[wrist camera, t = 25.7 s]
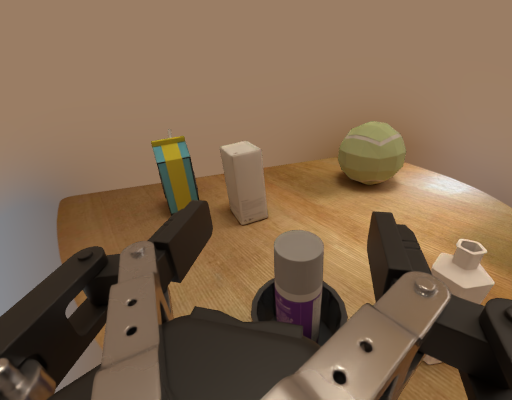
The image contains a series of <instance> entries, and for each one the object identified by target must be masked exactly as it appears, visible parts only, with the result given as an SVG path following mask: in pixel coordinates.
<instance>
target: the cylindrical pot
mask: <svg viewBox="0 0 512 400" xmlns="http://www.w3.org/2000/svg"><path fill="white" fill-rule="evenodd" d="M251 319H252V322H258V321H277V319H276V301H275V278H274V279H272V280H269V281H268V282H267V283H266V284H264V285H263V286H262V287H261V288H260V289H259V290H258V292H257V294H256V296H255V297H254V299H253V301H252V310H251ZM347 319H348V316H347V312H346V308H345V305H344V302H343V300H342V299H341V298H340V296H339V295H338V293H337V292H336V291H335V290H334V289H333V288H332V287H330V286H329V285H328V284H327V283H325V282H324V281H322V298H321V311H320V325H319V338H318V345H320V346H321V347H322V346H323V345H324V344H325V343H326V342H327V341H328V340H329V339H330V338H331V337H332V336H333V335H334V334H335V333H336V332H337V331H338V330H339V329H340V328H341V327H342V326H343V325H344V324H345V323H346V322H347Z"/></svg>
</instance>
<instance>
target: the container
mask: <svg viewBox="0 0 512 400" xmlns="http://www.w3.org/2000/svg"><path fill="white" fill-rule="evenodd" d="M323 255H324V245H323V242H322V240H321V239H320V238H319V237H318V236H317V235H315V234H313V233H311V232H308V231H303V230H292V231H287V232H285V233H282V234H281V235H279V236H278V237H277V238H276V240H275V242H274V273H275V301H276V319H277V321H279V322H285V323H291V324H296V325H302V326H303V336H305V337H307V338H309V339H311V340H312V341H314V342H316V343H317V344H318V338H319V325H320V311H321V298H322V281H323Z"/></svg>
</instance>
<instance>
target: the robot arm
mask: <svg viewBox="0 0 512 400" xmlns="http://www.w3.org/2000/svg"><path fill="white" fill-rule="evenodd" d="M212 230H213V226H212V220H211V215H210V210H209V205H208V203H207V201H199V200H192V201H190V202H189V203H188V205H187V206H186V207H185V208H184V209H181V210H179V211H177V212H176V213H174V214H173V215H172V216H171V217H170V218H169V219H168V221H166V222H165V223H164V224H163V226H161V227H160V228H159V229H158V230H157V231H156V232H155V233H154V235H153V236H152V237H151V238H150V239H149V240H148V241H140V242H136V243H133V244H131V245H129V246H128V247H126V248H125V249H124V250H123V251H122V252H121V254H115V255H107V256H106V254H105V252H104V250H103V248H102V247H98V246H94V247H89V248H86V249H83V250H81V251H79V252H77V253H76V254H74V255H73V256H72V257H70V258H69V259H68V260H67V261H66V262H65V263H63V264H62V265H61V266H60V267H59V268H57V269H56V270H55V271H54V272H53V273H52V274H50V275H49V276H48V277H47V278H46V279H45V280H43V281H42V282H41V283H40V284H39V285H37V286H36V287H35V288H34V289H33V290H32V291H30V292H29V293H28V294H27V295H26V296H25V297H23V298H22V299H21V300H20V301H19V302H17V303H16V304H15V305H14V306H13V307H12V308H10V309H9V310H8V311H7V312H6V313H4V314H3V315H2V316H1V317H0V400H397V399H398V397H399V395H400V394H401V392H402V390H403V389H404V387H405V386H406V384H407V383H408V381H409V380H410V378H411V377H412V375H413V374H414V372H415V371H416V369H417V368H418V366H419V365H420V363H421V362H422V360H423V359H424V357H425V356H426V354H427V355H429V356H431V357H433V358H435V359H437V360H440V361H442V362H444V363H446V364H448V365H450V366H453V367H455V368H457V369H458V370H459V373H460V376H461V379H462V382H463V385H464V388H465V391H466V394H467V397H468V400H512V300H509V299H503V298H495V299H491V300H489V301H488V302H487V303H486V305H485V306H482V305H480V304H477V303H474V302H471V301H468V300H465V299H462V298H459V297H457V296H455V295H453V294H451V292H450V290H449V288H448V287H447V286H446V284H445V283H443V282H442V281H441V280H440V279H438V278H436V277H435V276H433V275H432V273H431V271H430V268H429V266H428V264H427V262H426V259H425V257H424V255H423V253H422V250H420V249H421V248H420V246H419V244H418V243H417V239H416V237H415V235H414V233H413V232H412V231H411V230H410V229H409V228H408V227H407V226H406V225H399V224H396V222H395V219H394V217H393V214H392V213H390V212H373V213H372V216H371V222H370V228H369V234H368V241H367V253H368V259H369V265H370V271H371V277H372V282H373V288H374V294H375V300H376V303H375V304H374V305H373V306H372V305H371V304H369V303H366V304H364V305H363V306H362V307H361V308H360V309H359V310H358V311H357V312H356V313H355V314H354V315H353V316H352V317H351V318H350V319H349V320H348V321H347V322H346V323H345V324H344V325H343V326H342V327H341V328H340V329H339V330H338V331H337V332H336V333H335V334H334V335H333V336H332V337H331V338H330V339H329V340H328V341H327V342H326V343H325V344H324V345H323V346H322V347H321V346H320V345H318V344H317V343H316V342H314V341H312V340H311V339H309V338H307V337H305V336H303V326H302V325H296V324H291V323H285V322H279V321H258V322H242V321H240V320H238V319H236V318H233V317H231V316H229V315H227V314H225V313H223V312H221V311H218V310H212V309H207V308H201V307H196V306H195V307H194V309H193V311H192V313H191V315H186V316H181V317H178V318H175V319H174V317H173V310H172V303H171V297H170V290H169V287H168V285H169V283H170V282H178V283H181V282H182V280H183V279H184V277H185V276H186V274H187V272H188V271H189V269H190V268H191V266H192V265H193V263H194V262H195V260H196V259H197V257H198V256H199V254H200V253H201V251H202V249H203V248H204V246H205V245H206V243H207V242H208V240H209V239H210V237H211V235H212ZM82 290H83V291H84V293H85V294H86V296H87V299H86V300H85V301H84V302H83V303H82V304H81V305H80V306H79V307H78V308H77V310H76V311H75V312H74V313H73V314H72V315H71V316H70V317H69V318H68V319H67V318H66V315H65V310H66V308H67V306H68V304H69V303H70V302H71V301H72V300H73V299H74V298H75V297H76V296H77V295H78V294H79V293H80V292H81V291H82ZM105 323H106V328H105V337H104V345H103V353H102V362H101V364H100V365H98V366H97V367H95V368H94V369H92V370H91V371H89V372H87V373H86V374H84V375H83V376H81V377H80V378H78V379H76V380H75V381H73V382H72V383H70V384H69V385H67V386H66V387H64V388H63V389H61V390H60V391H58V392H56V393H55V389H56V388H57V386H58V385H59V384H60V382H61V381H62V380H63V378H64V377H65V376H66V374H67V373H68V372H69V370H70V369H71V368H72V367H73V365H74V364H75V363H76V361H77V360H78V359H79V357H80V356H81V355H82V354H83V352H84V351H85V350H86V348H87V347H88V346H89V344H90V343H91V342H92V340H93V339H94V338H95V337H96V335H97V334H98V333H99V331H100V330H101V329H102V327H103V326H104V325H105ZM54 393H55V394H54Z"/></svg>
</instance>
